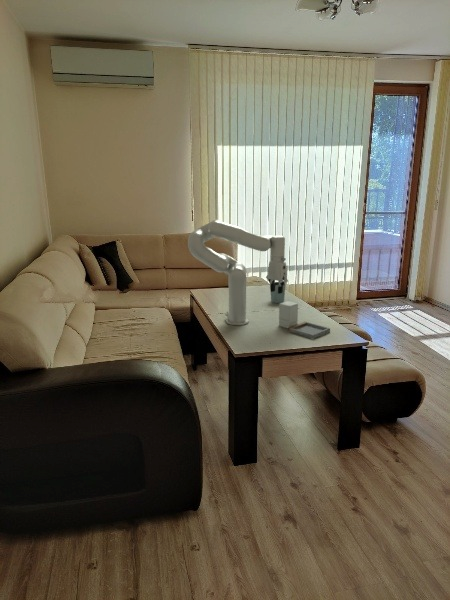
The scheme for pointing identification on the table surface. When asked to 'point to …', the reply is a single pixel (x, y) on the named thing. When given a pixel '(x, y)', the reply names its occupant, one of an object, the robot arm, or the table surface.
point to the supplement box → (288, 314)
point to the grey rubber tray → (311, 330)
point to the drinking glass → (275, 296)
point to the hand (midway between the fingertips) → (276, 292)
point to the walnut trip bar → (297, 326)
